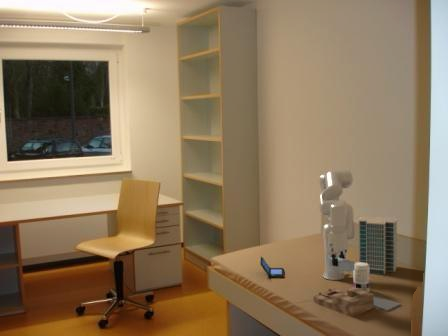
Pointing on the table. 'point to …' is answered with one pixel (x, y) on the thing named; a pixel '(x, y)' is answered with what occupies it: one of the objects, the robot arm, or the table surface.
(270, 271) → the game console
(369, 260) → the building model
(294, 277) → the table surface
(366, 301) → the jig
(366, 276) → the supplement can
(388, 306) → the mat
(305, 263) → the table surface
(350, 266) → the bar
